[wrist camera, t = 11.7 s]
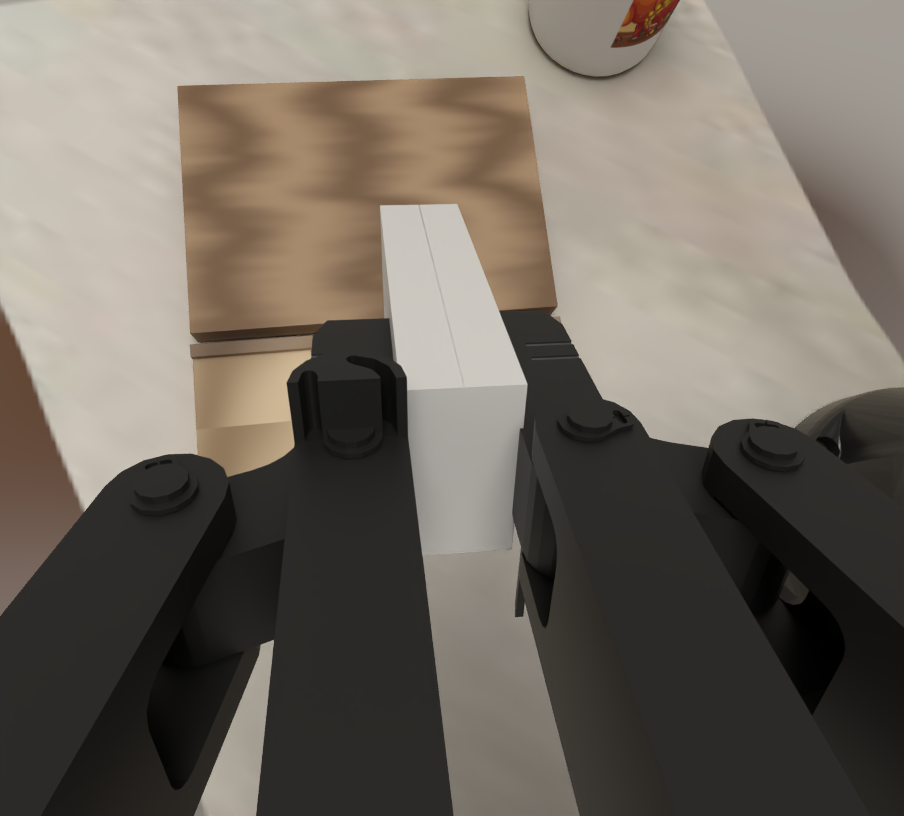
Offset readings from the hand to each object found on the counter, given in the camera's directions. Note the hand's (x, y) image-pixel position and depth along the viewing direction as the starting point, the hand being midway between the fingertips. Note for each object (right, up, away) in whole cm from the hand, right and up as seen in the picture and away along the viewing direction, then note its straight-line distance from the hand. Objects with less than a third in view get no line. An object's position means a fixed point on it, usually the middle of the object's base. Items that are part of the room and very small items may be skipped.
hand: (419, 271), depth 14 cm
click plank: (-3, +2, +21) cm, 21 cm away
